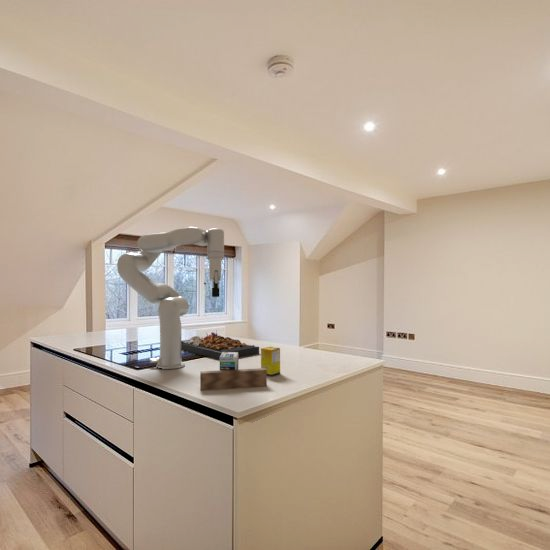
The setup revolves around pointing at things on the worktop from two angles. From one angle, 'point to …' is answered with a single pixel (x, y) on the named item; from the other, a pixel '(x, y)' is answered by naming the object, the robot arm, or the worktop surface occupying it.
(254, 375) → the walnut board
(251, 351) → the food platter
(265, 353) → the supplement box
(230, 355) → the light bulb box
